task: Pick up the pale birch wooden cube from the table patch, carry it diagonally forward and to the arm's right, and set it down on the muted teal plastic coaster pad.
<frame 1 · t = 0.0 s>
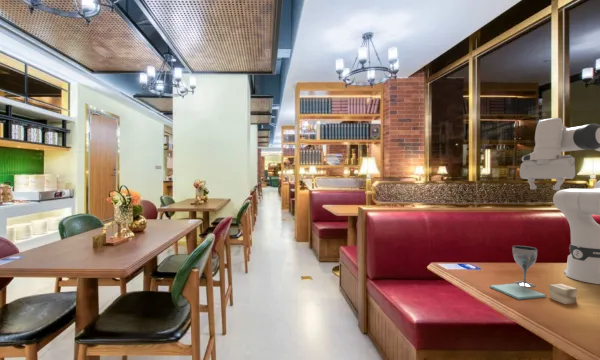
hand: (544, 189, 120), 39 cm above the table, tool pointing down, fingers open, 8 cm apart
wine glass: (524, 284, 118), on the table
cube: (562, 300, 102), on the table
pad: (516, 292, 110), on the table
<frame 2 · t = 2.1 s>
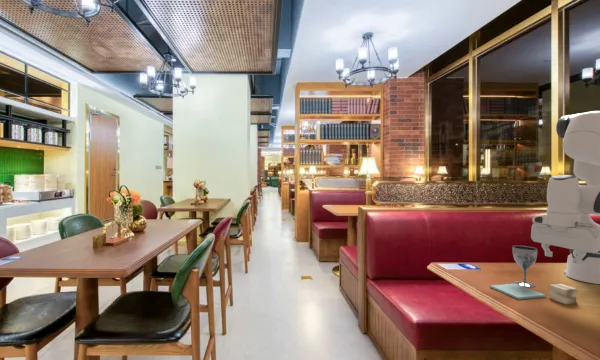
hand: (562, 259, 102), 14 cm above the table, tool pointing down, fingers open, 8 cm apart
nothing on the table moved.
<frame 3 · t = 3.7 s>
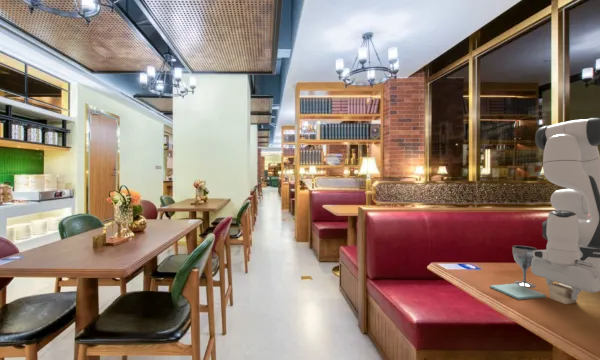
hand: (562, 295, 102), 2 cm above the table, tool pointing down, fingers closed on cube, 5 cm apart
cube: (562, 300, 102), on the table, touching gripper
everything else where it was.
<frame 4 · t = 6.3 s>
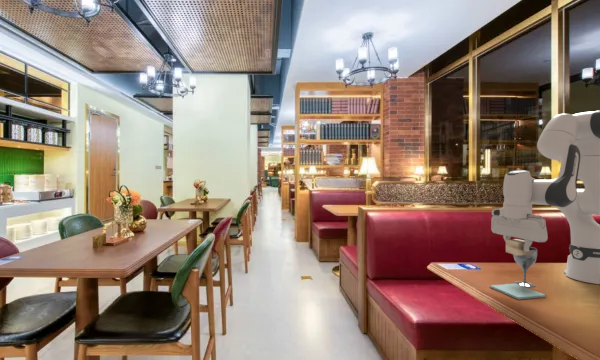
hand: (517, 249, 110), 16 cm above the table, tool pointing down, fingers closed on cube, 5 cm apart
cube: (517, 253, 110), point 15 cm above the table, touching gripper
everything else where it was.
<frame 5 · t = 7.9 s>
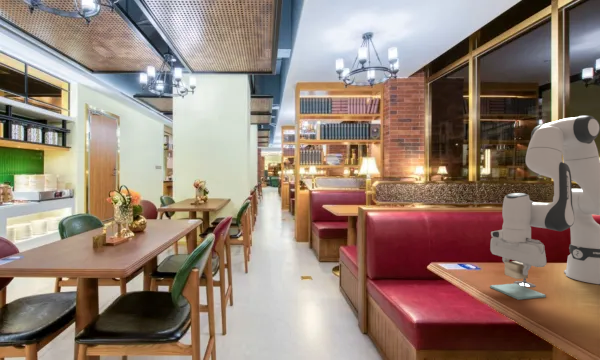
hand: (516, 272, 110), 8 cm above the table, tool pointing down, fingers closed on cube, 5 cm apart
cube: (516, 276, 110), point 6 cm above the table, touching gripper
everything else where it was.
when the fingers open (4 cm above the table, at t = 9.0 s): cube drops 2 cm, resting on pad.
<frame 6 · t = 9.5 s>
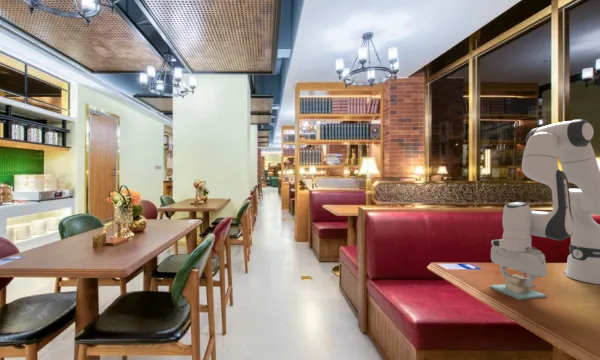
hand: (516, 281, 110), 4 cm above the table, tool pointing down, fingers open, 8 cm apart
cube: (516, 289, 110), point 1 cm above the table, touching pad
everything else where it was.
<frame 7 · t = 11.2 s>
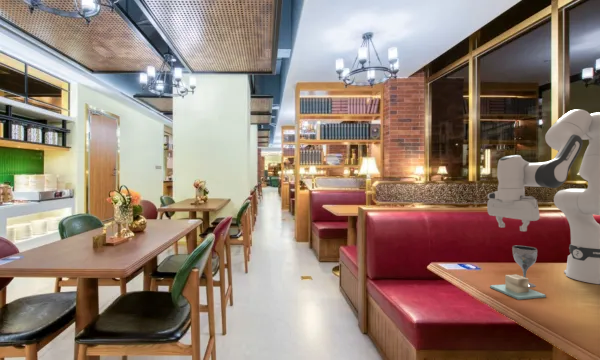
hand: (512, 229, 118), 23 cm above the table, tool pointing down, fingers open, 8 cm apart
nothing on the table moved.
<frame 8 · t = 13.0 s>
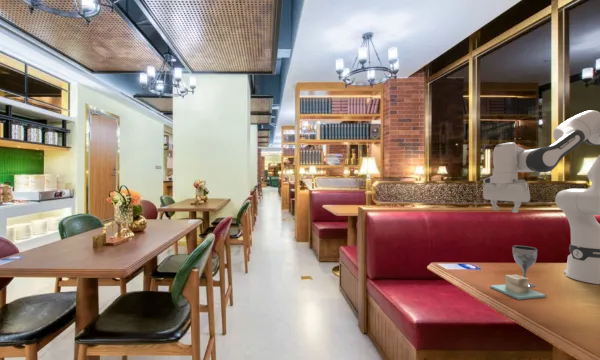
hand: (505, 211, 126), 29 cm above the table, tool pointing down, fingers open, 8 cm apart
nothing on the table moved.
at the end: cube inside the target area on the pad (0.0 cm from its centre), point 0.8 cm above the pad's base; cube tilted 0°; the gripper is holding nothing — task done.
